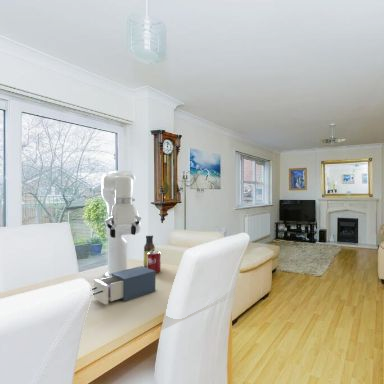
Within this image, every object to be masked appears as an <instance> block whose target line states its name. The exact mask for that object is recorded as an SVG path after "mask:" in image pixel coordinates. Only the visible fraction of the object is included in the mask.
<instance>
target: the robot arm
mask: <svg viewBox="0 0 384 384" xmlns="http://www.w3.org/2000/svg"><path fill="white" fill-rule="evenodd" d="M135 184H136V175H135V173H134V172H133V171H131V170H111V171H110V172H109V173H105V174H103V175H102V177H101V188H100V191H101V197H102V199H103V201H104V203H105V204H106V209H107V218H106V219H104V220H103V222H104V224H105V228H106V229H105V230H106V234H107V271H106V272H105V273H104V278H107V277H111V273H114V272H118V271H123V270H127V269H128V241H127V240H126V238H124V237H123V236H128V235H129V236H130V235H132V236H135V235H136V234H139V233H140V232H141V229H142V223H141V220H142V217H140V215H139V210H138V208H137V207H136V206H135V205H134V203H133V202H135V201H136V199H135V198H133V192H134V188H135Z"/></svg>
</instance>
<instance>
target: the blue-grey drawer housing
mask: <svg viewBox="0 0 384 384" xmlns="http://www.w3.org/2000/svg"><path fill="white" fill-rule="evenodd" d="M111 276H115V277H117V278H119V279H122V280H124V297H123V298H120V299H119V300H122V301H123V302H126V301H129V300H132V299H135V298H139V297H141V296H144V295H147V294H151V293H154V292H156V275H155V271H154V270H151V269H149V268H146V267H144V265H140V266H135V267H132V268H127V270H123V271H118V272H114V273H111Z"/></svg>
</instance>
